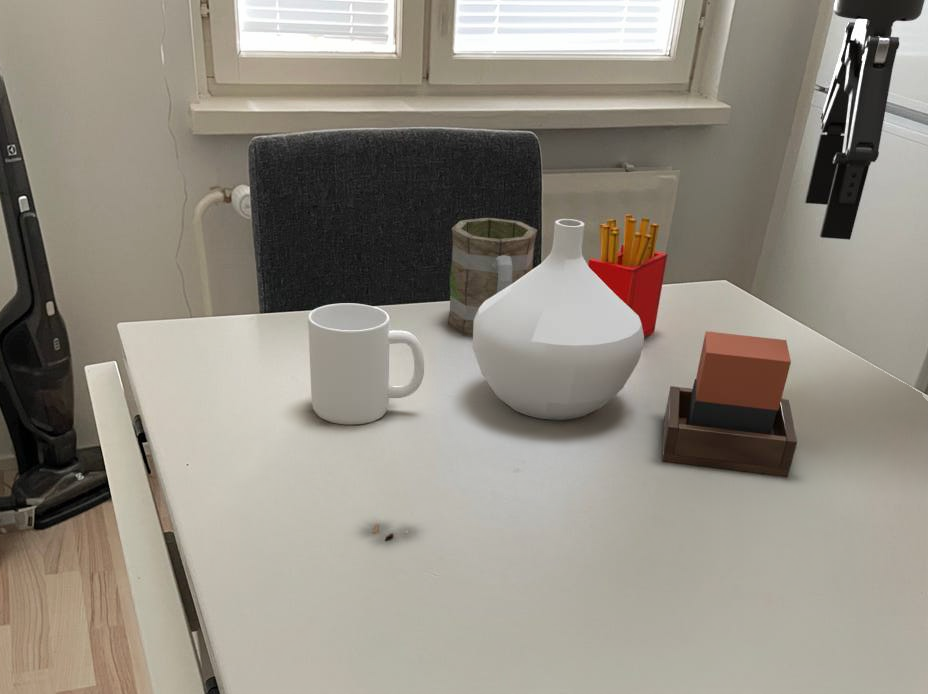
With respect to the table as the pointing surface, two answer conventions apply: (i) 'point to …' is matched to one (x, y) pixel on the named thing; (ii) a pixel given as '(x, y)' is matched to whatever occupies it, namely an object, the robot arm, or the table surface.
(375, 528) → the pale spotted flat piece
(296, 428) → the table surface
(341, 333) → the cup
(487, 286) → the mug
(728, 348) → the reddish brown rectangular block
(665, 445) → the frame
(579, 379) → the vase
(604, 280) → the french fries container
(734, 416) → the dark gray rectangular block
